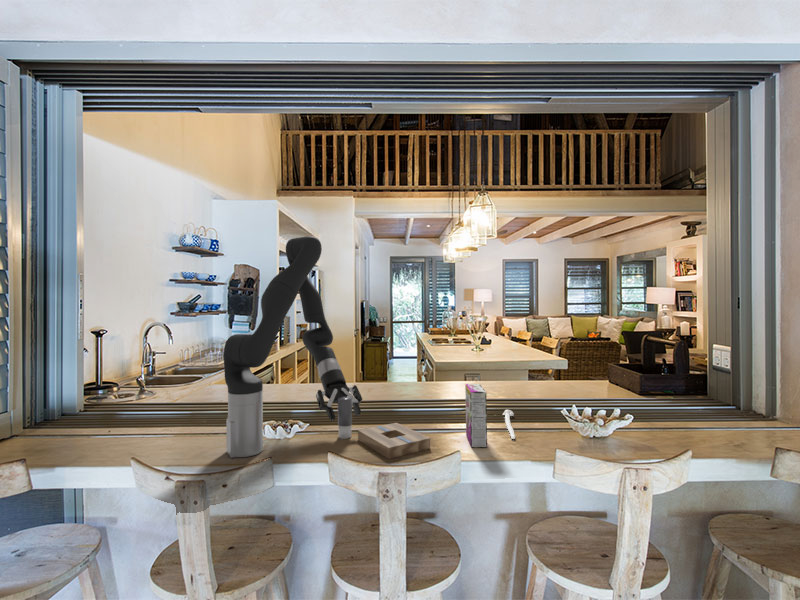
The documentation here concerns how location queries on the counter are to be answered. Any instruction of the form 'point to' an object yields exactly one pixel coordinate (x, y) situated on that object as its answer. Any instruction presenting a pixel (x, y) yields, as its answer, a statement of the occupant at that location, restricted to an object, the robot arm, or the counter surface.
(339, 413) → the grey peg
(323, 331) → the robot arm
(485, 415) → the candy bar box
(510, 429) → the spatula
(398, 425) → the board
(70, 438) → the counter surface
